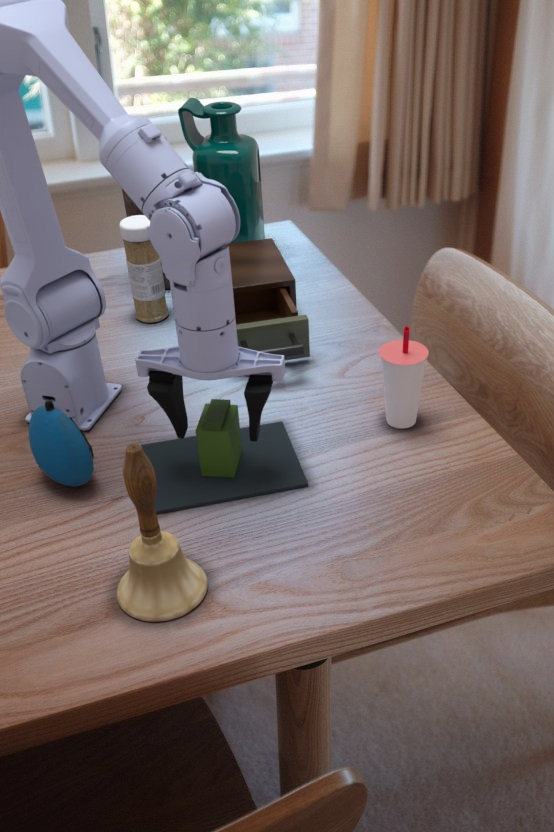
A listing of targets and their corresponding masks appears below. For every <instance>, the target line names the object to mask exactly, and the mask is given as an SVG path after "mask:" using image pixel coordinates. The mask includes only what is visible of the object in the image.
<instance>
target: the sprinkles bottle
mask: <svg viewBox="0 0 554 832" xmlns="http://www.w3.org/2000/svg"><path fill="white" fill-rule="evenodd" d="M148 226H149V227H150V221H149V220H148V218H147V217H146V216H145V215H135V216H130V217H127V216H126V217H124V218H123V219H121V220H120V222H119V231H120V232H119V233H120V237H121V239H122V242H123V247H124V251H125V252H124V253H125V258H126V259H125V261H126V266H127V272H128V278H129V285H130V290H131V296H132V299H133V305H134V311H135V312H134V315H135V318H136V319H137V320H138V321H140V322H141V323H142V322H143V323H148V324H149V323H151V324H153V323H158V322H161V321H163V320H165V319H166V318H167V317H168V315H169V309H168V306H167V298H166V289H165V287H164V280H163V273H162V266H161V260H160V257H159V255H158V253H157V252H156V250H155V249H154V247H153V245H152V243H151V241H150V239H149V236H148V232H147V227H148Z"/></svg>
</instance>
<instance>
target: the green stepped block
mask: <svg viewBox="0 0 554 832" xmlns="http://www.w3.org/2000/svg"><path fill="white" fill-rule="evenodd" d="M239 413H240V412H239V405H238V404H231V399H221V398H220V399H219V398H218V399H217V398H211V400H210V402H209V403H204V406H203V408H202V412H201V414H200V417H199V420H198V422H197V425H196V428H195V436H196V438H197V445H198V453H199V460H200V467H201V474H202V476H209V477H231V478H234V476H235V473H236V469H237V466H238V463H239V459H240V456H241V452H242V443H241V433H240V428H241V423H240V414H239Z"/></svg>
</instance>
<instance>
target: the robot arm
mask: <svg viewBox="0 0 554 832" xmlns="http://www.w3.org/2000/svg"><path fill="white" fill-rule="evenodd" d="M70 26H71V25H70V18H69V14H68V9H67V6H66V4H65V2H64V1H63V0H0V214H1V217H2V220H3V222H4V226H5V229H6V232H7V235H8V238H9V241H10V244H11V247H12V249H13V250H12V251H13V253H14V256H13V259H12V260H11V262H9V265H8V266H7V268H6V270H5V272H4V273H3V274H2V277H1V279H0V290H1V292H2V296H3V304H4V305H3V306H4V307H3V308H4V317H5V321H6V323H7V326H8V327H9V330H10V331H11V332H12V334H13V335H14V336H15V337H16V339H17V340H18V341H20V342H21V343H22V344H23V345H25V346H27V347H29V348H30V349H29V353H28V354H29V355H28V357H27V360H26V362H25V363H24V365H23V366H22V368H21V371H20V381H21V384H22V389H23V392H24V396H25V400H26V403H27V406H28V410H29V413H28V414H27V415H26V417H24V418H25V422H26V423H30V419H31V416H32V414H33V412H34V411H35V410H36V409H37V408H38V407H40V406H45V402H46V401H48V400H50V401H52V402H53V405H54V407H55V408H57V409H59V410H60V411H62V412H63V413H64V414H65V415H66V416H68V417H72V419H73V421H74V422H75V424H76V425H77V426H78V428H79V429H82V431H89V430H91V428H92V427H93V426H94V424H95V423H96V422H97V421H98V419H99V418H101V416H102V414H103V413H104V412H105V411H106V410H107V408H108V407H109V406H110V405H111V403H112V402H113V401H114V399H115V398H116V397H117V396H118V395H119V393H120V392H121V391H122V390H123V387H122V385H121V384H119V383H112V382H107V380H106V376H105V370H104V366H103V361H102V356H101V352H100V347H99V342H98V337H97V330H98V329H99V328H101V324H100V319H99V318H101V317H102V316H103V315H104V314H105V312H106V308H107V299H106V294H105V291H104V288H103V286H102V284H101V282H100V280H99V279H98V277H97V276H96V274H95V273H94V271H93V268H92V265H91V262H90V259H89V257H88V256H87V255H86V254H83V253H82V252H81V251H78V250H76V249H73V248H70V247H68V246H67V245H66V243H65V239H64V235H63V232H62V229H61V226H60V221H59V219H58V216H57V215H58V214H57V212H56V209H55V205H54V202H53V199H52V196H51V193H50V189H49V185H48V182H47V179H46V176H45V173H44V169H43V166H42V162H41V159H40V156H39V153H38V149H37V146H36V142H35V139H34V136H33V133H32V129H31V126H30V123H29V119H28V116H27V113H26V109H25V106H24V102H23V99H22V96H21V93H20V92H21V91H20V88H21V86H22V84H23V81H24V80H25V78H26V76H29V77H36V78H38V80H40V81H41V82H42V84H44V86H46V88H47V89H49V90H50V92H51V93H53V95H54V96H55V97H56V98H57V99H58V100H59V101H60V102H61V103H62V104H63V105H64V106H65V107H66V108H67V109H68V110H69V111H70V112H71V113H72V114H73V115H74V116H75V117H76V118H77V120H79V122H80V123H81V124H82V125H83V126H84V127H85V128H86V129H87V130H88V131H89V132H90V133H91V134H92V135H93V136H94V137H95V138H96V140H98V157H99V161H100V164H101V165H102V166H103V167H104V169H105V170H106V171H107V172H108V173H109V174H110V176H111V177H112V178H113V179H114V181H115V182H116V183H117V184H118V185H119V186H120V188H121V187H122V188H121V190H122V189H123V190H124V191H125V192H126V193H127V195H128V196H129V197H130V198H131V199H132V201H133V202H134V203H135V204H136V205H137V207H138V208H139V209H140V210H141V211H142V212H143V214H144V215H145V216H146V217H147V218H148V220H149V221H150V227H149V226H148V227H147V232H148V236H149V239H150V241H151V243H152V245H153V247H154V249H155V250H156V252H157V253H158V255H159V257H160V259H161V263H162V269H163V273H165V275H166V278H167V279H168V280H169V281H170V288H171V289H170V294H171V301H172V308H173V316H174V323H175V330H176V337H177V344H178V346H173V347H165V348H159V349H158V348H157V349H140V350H139V351H138V354H137V356H136V357H135V360H134V361H135V367H136V372H137V377H141V378H142V377H143V378H147V377H148V383H147V387H146V389H147V392H148V395H149V396H150V397H151V398H153V400H154V401H155V402H156V403H157V404H158V405H159V406H160V408H161V410H163V412H164V413H165V415H166V416H167V418H168V421H169V422H170V424H171V426H172V428H173V430H174V432H175V434H176V438H177V439H180V438H186V434H187V431H188V429H189V419H188V414H187V413H188V412H187V408H186V402H185V396H184V387H183V386H184V384H183V382H184V381H183V377H185V378H189V379H193V380H197V381H216V380H223V379H230V378H236V377H237V378H247V382H246V385H245V388H244V391H243V395H244V399H245V404H246V409H247V415H248V427H249V436H250V441H257V440H258V436H259V433H260V425H261V420H262V419H261V418H262V413H263V411H264V408H265V406H266V403H267V401H268V399H269V397H270V395H271V392H272V388H273V384H274V383H275V382H276V383H283V382H284V379H285V375H286V361H285V358H284V355H275V354H268V353H264V352H259V351H255V350H251V349H247V348H242V347H238V340H237V329H236V319H235V308H234V297H233V286H232V275H231V264H230V254H229V246H227V247H224V246H226V245H228V244H229V243H230V242H231V241H233V240H234V239H235V238H236V237H237V235H238V233H239V230H240V215H239V211H238V208H237V205H236V203H235V201H234V199H233V198H232V196H231V195H230V194H229V192H228V190H227V188H226V187H225V186H224V185H222V184H221V183H219V182H217V181H215V180H212V179H207V178H205V177H204V176H203V175H202V174H201V173H198V172H194V170H192V169H191V167H190V166H189V165H188V164H187V163H186V162H185V160H184V159H183V158H182V157H181V156H180V154H179V153H178V152H177V151H176V149H174V147H173V145H171V144H170V143H169V141H168V139H167V138H166V137H165V136H164V135H163V134H162V132H161V130H160V129H159V128H158V127H157V126H156V124H155V123H153V122H152V121H151V120H150V119H149V118H148V117H145V116H138V115H131V114H128V112H127V111H126V110H125V107H123V105H122V103H120V101H119V100H118V98H117V97H116V96H115V94H114V93H113V91H112V89H110V87H109V86H108V84H107V83H106V81H105V80H104V79H103V77H102V76H101V74H100V73H99V72H98V70H97V69H96V67H95V66H94V65H93V64H92V62H91V60H90V59H89V57H88V56H87V55H86V54H85V52H84V50H83V49H82V48H81V46H80V45H79V44H78V42H77V41H76V39H75V38H74V37H73V35H72V34H71V27H70ZM164 137H165V138H166V139H167V140H166V139H165V138H164Z"/></svg>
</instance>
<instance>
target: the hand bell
mask: <svg viewBox="0 0 554 832" xmlns="http://www.w3.org/2000/svg"><path fill="white" fill-rule="evenodd" d="M141 445H142V444H140V443H137V442H133V443H132V442H131V443H129V444H128V445H127V446H126V447H125V453H124V455H125V456H124V462H123V467H122V478H123V482H124V486H125V487H124V488H125V490H126V493H127V495H128V497H129V499H130V501H131V503H132V505H134V507H135V510H136V513H137V519H138V525H139V533H140V535H138V536H137V537H136V538H135V539H133V541H132V542H131V543H130V545H129V547H128V548H129V549H128V559H129V561H128V562H129V565H128V570H127V571H126V572H125V574H124V575H123V576H122V577H121V579H120V580H119V582H118V585H117V590H116V600H117V603H118V606H119V607H120V608H121V609H122V611H123V612H124V613H126V615H128V616H130V617H131V618H134V619H137V620H140V621H143V622H152V623H153V622H156V623H157V622H167V621H171V620H175V619H177V618H181V617H182V616H183V617H184V616H185V615H187V614H188V613H190V612H191V611H192V610H194V609H195V608H196V607H197V606H199V605H200V603H201V602H202V601H203V600H204V598H205V597H206V594H207V592H208V586H209V580H208V576H207V574H206V572H205V571H204V569H203V568H202V567H201V565H199V564H198V563H197V562H195V561H193V560H192V559H190V558H187V557H186V556H185V555H184V552H183V550H182V547H181V545H180V542H179V540H178V538H177V537H176V536H175V535H174V534H172V533H170V532H168V531H165V530H161V526H160V524H159V520H158V514H156V511H155V499H156V491H157V485H156V477H155V472H154V469H153V466H152V464H151V462H150V461H149V459H148V457H147V456H146V454H145V453H144V451H143V449H142V447H141Z"/></svg>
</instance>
